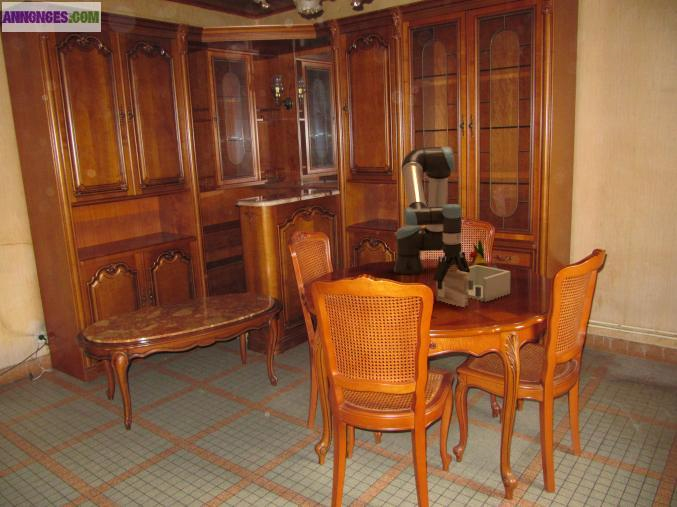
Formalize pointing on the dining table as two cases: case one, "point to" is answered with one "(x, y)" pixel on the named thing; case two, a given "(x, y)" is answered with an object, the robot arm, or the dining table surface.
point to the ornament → (478, 256)
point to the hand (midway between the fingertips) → (452, 293)
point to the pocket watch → (494, 265)
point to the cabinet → (487, 283)
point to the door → (455, 288)
